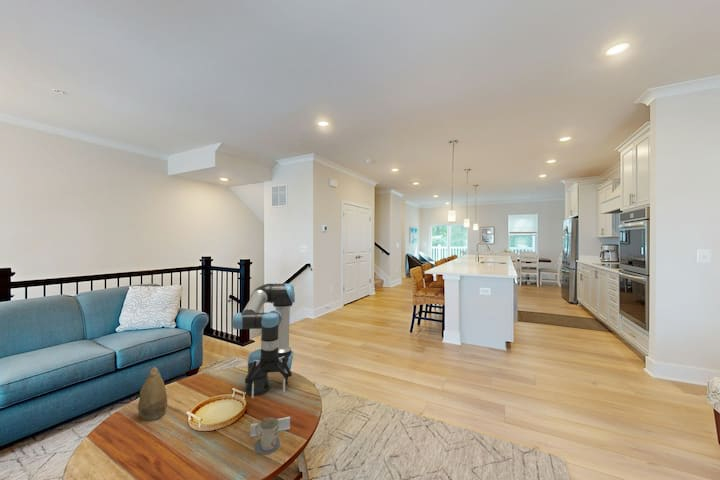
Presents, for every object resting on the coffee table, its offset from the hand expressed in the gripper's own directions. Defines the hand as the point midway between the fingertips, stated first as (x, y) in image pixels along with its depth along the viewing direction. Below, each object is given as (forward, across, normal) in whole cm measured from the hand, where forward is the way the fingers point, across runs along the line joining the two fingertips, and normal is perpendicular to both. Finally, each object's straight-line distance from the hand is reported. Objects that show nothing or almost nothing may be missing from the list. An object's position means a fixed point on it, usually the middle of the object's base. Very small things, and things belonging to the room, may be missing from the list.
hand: (268, 394), depth 129 cm
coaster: (+22, 0, -2) cm, 22 cm away
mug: (+22, -1, -2) cm, 22 cm away
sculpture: (+22, -54, +39) cm, 70 cm away
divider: (+22, +2, +7) cm, 23 cm away
